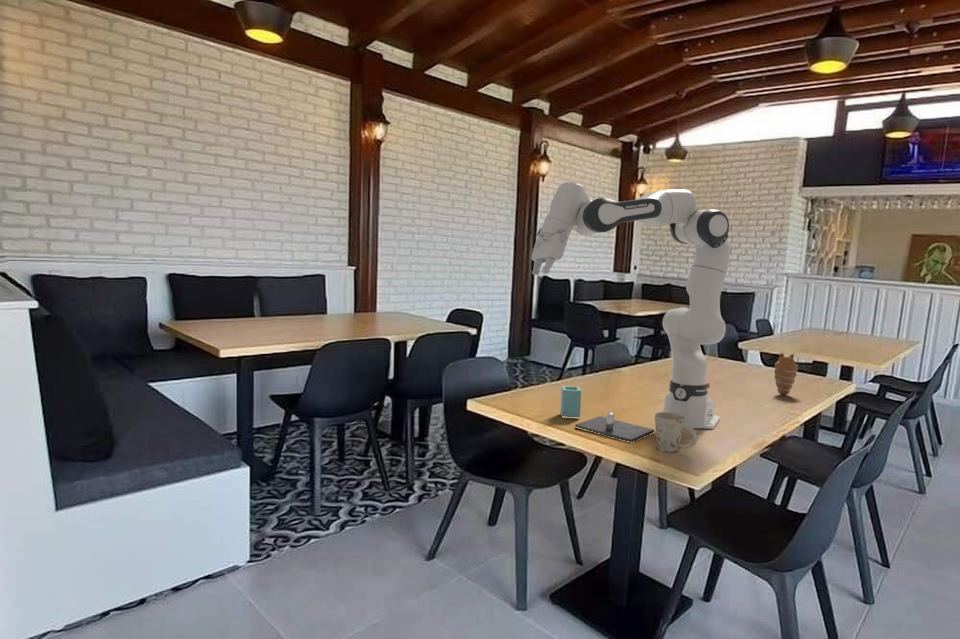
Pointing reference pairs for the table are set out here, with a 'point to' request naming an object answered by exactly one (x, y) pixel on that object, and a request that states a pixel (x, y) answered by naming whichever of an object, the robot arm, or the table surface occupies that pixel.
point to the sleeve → (570, 401)
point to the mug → (671, 431)
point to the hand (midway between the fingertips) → (539, 273)
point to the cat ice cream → (785, 373)
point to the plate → (615, 428)
